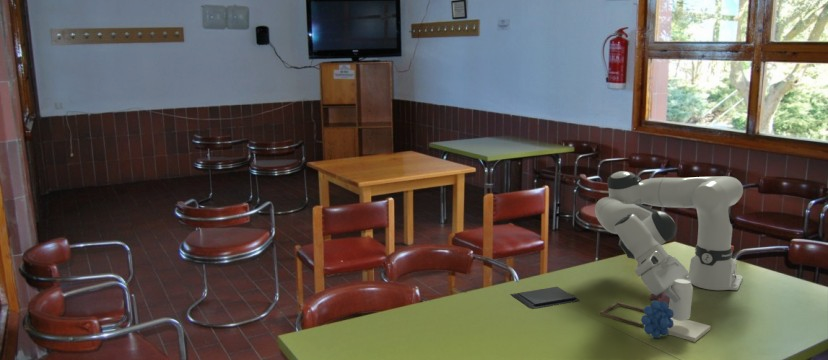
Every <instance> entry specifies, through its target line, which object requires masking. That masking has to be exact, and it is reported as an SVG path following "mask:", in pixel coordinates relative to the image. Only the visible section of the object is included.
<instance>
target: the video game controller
mask: <svg viewBox="0 0 828 360" xmlns="http://www.w3.org/2000/svg"><path fill="white" fill-rule="evenodd" d="M649 299H650V300H651V301H654V300H656V301H658V302H662V301H663V302H666V303H667V304H668V305H669V302H670V298H669V297H668V296H666V295H665V294H664V292H661V293H660V294H658V295H654V294H653V293H652V292H651V294H650V295H649Z"/></svg>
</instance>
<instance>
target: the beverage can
mask: <svg viewBox="0 0 828 360" xmlns="http://www.w3.org/2000/svg"><path fill="white" fill-rule="evenodd" d="M671 289H672V291H673V292H674V293H675V294H676V295H678V296H679V297H680V300H679V301H678V302H676V303H674V302H673V300H672V299H671V298H670V302H669V304H668V307H669V308H668V309H671V310H672V311H673V313H674V315H673V317H672V318H673V319H675V320H679V321H684V320H686V319H687V320H690V318H691V313H692V302H693V301H692V299H693V284H691V281H690V280H688V279H685V278H677V280H675V281H674V285H672V286H671Z"/></svg>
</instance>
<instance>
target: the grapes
mask: <svg viewBox="0 0 828 360" xmlns="http://www.w3.org/2000/svg"><path fill="white" fill-rule="evenodd" d="M651 301H652V302H651V303H650V305H645V306H644V308H643V309H644V312H643V313H644V315H642V316H641V318H640V323H643V324H644V327H643V331H644V333H646V334H647V335H651V336H652V338H654V339H659V338H660V337H661V336H664V337H665V336H668V335H669V334H668V328H671V327H673V325H674V323H673V320H672V319H670V318H672V317H673V315H674V313H673V311H672V310H671V309H669V304H667V303H666V302H663V301H662V302H658V300H657V299H656V300H651Z"/></svg>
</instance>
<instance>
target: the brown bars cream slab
mask: <svg viewBox="0 0 828 360" xmlns="http://www.w3.org/2000/svg"><path fill="white" fill-rule="evenodd" d="M618 306H620V307H624V308H627V309H631V310H634V311H637V312H640V313H641V312H642V313H644V308H641V307H640V306H639V307H638V306H635V305H630V304H627V303H623V302H619V301H617V302H614V303H613V304H611V305H609V306H608V307H606V308H604V309H602V310H601V311H599V316H602V317H606V318H609V319H613V320H617V321H619V322H620V321H621V322H624V323H627V324H631V325H634V326H637V327H641V328H644V326H645V325H644V324H643V323H642V322H639V321H636V320H631V319H628V318H624V317H621V316H618V315H616V314H615V315H614V314H611V313H609V312H610V311H612V310H613V309H614V308H616V307H618ZM607 312H608V313H607ZM670 319H672V320H673V323H674V325H673V327H671V328H668V334H667V335H670V336H674V337H678V338H680V339H684V340H687V341H690V342H694V343H695V342H697V341H698V340H699V339H701V338H702V337H703V336H704V335H706V334H707V333H708V332H709V331H711V329H712V328H711V325H710V324H709V325H708V324H706V323H701V322H698V321H693V320H691V319H686V320H684V321H679V320H675V319H673V318H670Z"/></svg>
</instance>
